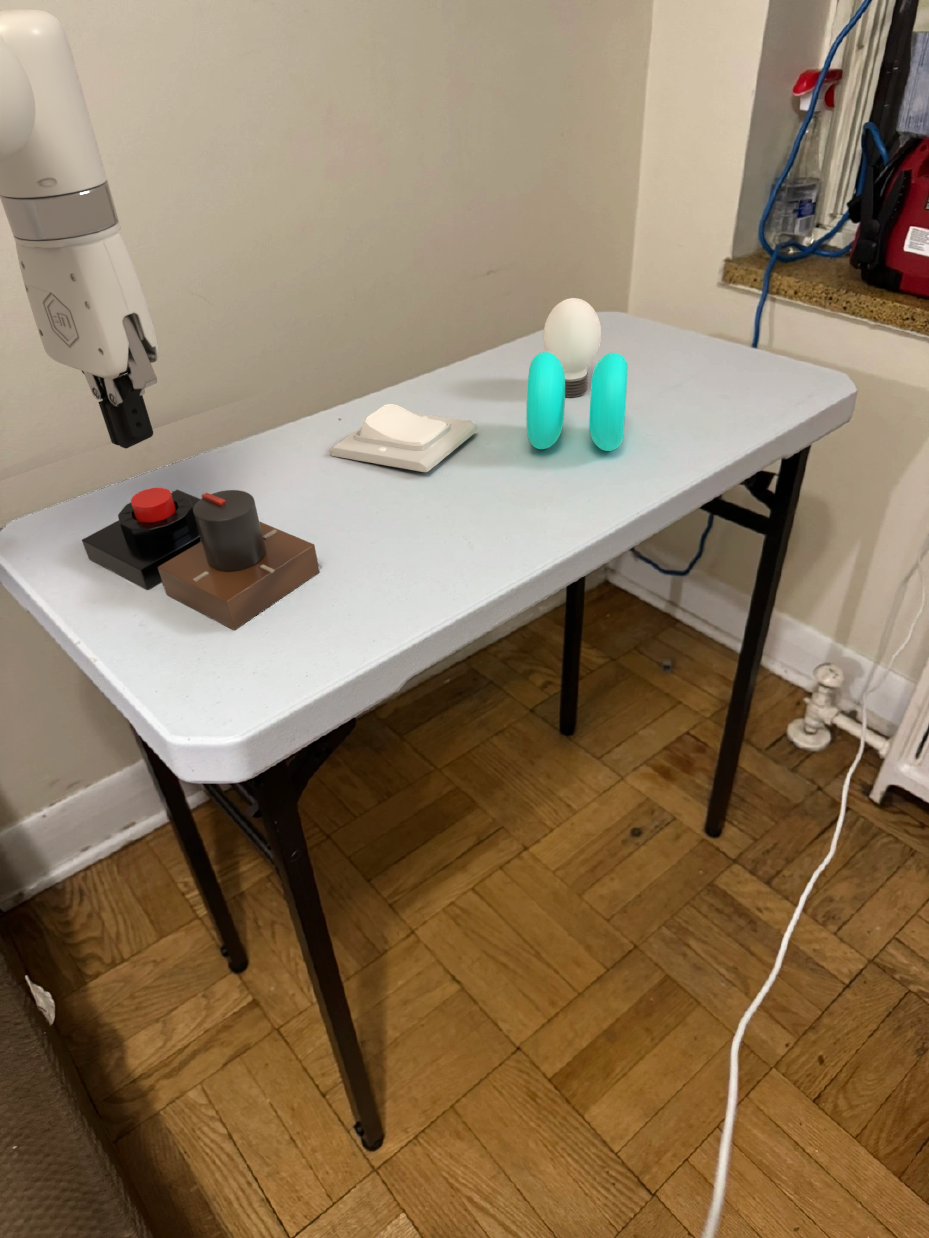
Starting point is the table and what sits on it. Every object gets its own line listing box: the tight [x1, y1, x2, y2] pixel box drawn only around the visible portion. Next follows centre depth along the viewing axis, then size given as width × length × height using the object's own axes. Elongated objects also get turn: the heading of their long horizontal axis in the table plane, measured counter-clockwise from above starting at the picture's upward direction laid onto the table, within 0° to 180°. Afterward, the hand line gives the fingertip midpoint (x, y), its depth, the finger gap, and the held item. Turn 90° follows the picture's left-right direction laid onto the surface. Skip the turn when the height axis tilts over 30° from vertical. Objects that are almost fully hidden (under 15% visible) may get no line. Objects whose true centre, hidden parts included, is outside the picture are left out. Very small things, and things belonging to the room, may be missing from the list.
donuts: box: [525, 351, 628, 452], centre depth 91 cm, size 10×10×10 cm
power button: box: [130, 487, 176, 522], centre depth 79 cm, size 4×4×2 cm
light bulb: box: [543, 297, 602, 398], centre depth 102 cm, size 7×7×11 cm
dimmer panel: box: [158, 520, 320, 631], centre depth 76 cm, size 10×9×3 cm
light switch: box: [329, 402, 478, 473], centre depth 95 cm, size 11×4×13 cm
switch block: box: [81, 489, 202, 591], centre depth 81 cm, size 11×9×4 cm
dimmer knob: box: [193, 489, 266, 571], centre depth 73 cm, size 5×5×5 cm
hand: (133, 440), depth 75 cm, fingers closed
